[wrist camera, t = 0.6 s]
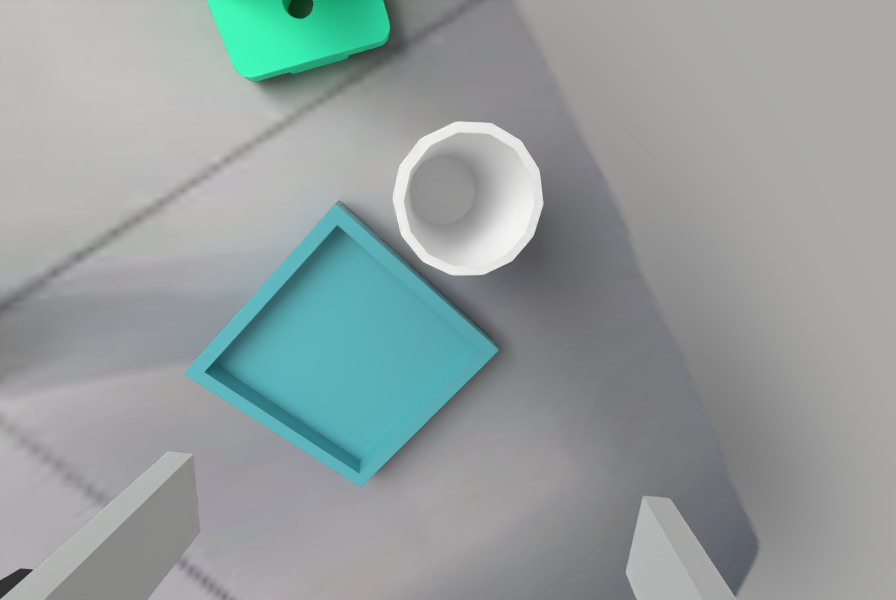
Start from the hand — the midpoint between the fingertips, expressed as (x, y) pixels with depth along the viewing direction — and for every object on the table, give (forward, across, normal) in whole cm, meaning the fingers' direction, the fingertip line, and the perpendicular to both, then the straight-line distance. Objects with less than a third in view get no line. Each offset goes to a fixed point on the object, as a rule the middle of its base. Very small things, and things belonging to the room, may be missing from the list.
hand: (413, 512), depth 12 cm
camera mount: (+27, -13, +22) cm, 37 cm away
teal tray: (+28, -9, -7) cm, 31 cm away
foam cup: (+30, -2, +9) cm, 31 cm away
